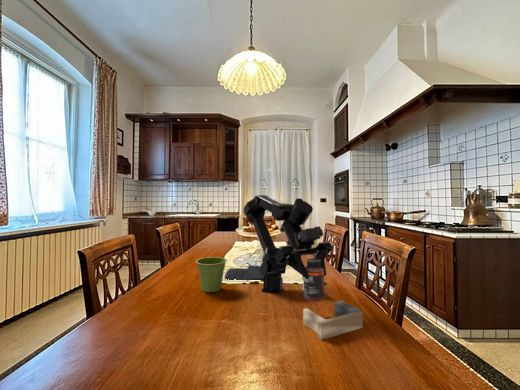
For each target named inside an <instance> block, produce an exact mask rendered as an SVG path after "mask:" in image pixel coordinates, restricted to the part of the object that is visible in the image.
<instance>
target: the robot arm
mask: <svg viewBox="0 0 520 390" xmlns="http://www.w3.org/2000/svg"><path fill="white" fill-rule="evenodd" d="M313 209H314V208H313V205H311V204H310V203H309V202H307V201H305V200H303V198H296V199H294V203H293V204H292V203H285V202H284V203H282V202H279V201H277V200H276V199H272V198H271V197H269V196H268V195H266V194H264V195H263V194H258V195H255V196H254V197H253V198H252V199H251V200H249V201H247V202H246V204H245V205H244V207H243V214H244V215H245V218H246V220H247V221H249V222H250V223H251V224H252V225H253V227H254V231H255V233H256V235H257V238H258V241H259V244H260V246H261V249H262V253H263V255H262V259H261V261H262V262H261V264H260V265H259V266H260V267H259V271H260V274H262V275H263V281H262V282H263V285H262V286H263V288H262V289H261V292H266V293H269V294H270V293H272V294H279V293H280V292H281V291H283V290H284V287H283V286H284V281H283V276H282V275H285V274H286V271H287V267H290V268H292V269H293V270H295V271H296V272H297V273H298V274H300V276H301V277H302V276H303V277H305V278H306V279H308V278H309V275H308V273H307V270H306V268H305V267H306V266H305V264H304V262H303V260H302V257H303V256H309V255H311V256H312V257H313V259H319V260H321V265H320V266H321V267H322V268H323V269H324V277H326V276H327V270H326V269H327V268H326V262H325V258H327V257H328V256H329V254H330V253H331V252H332V251H333V250H334V247H333V244H332V243H331V242H330V241H324V242H322V241H321V242H319V243H317V245H316V246H315V247H313V246H314V245H315V244H316V242H315V241H317V240H320V239H321V237H323V236H324V232H323V229H322V228H321V226H315V227H312V228H311V227H310V228H304V229H303V227H302V226H303V225H304V224H305V223H306V222H307V220H308V219H309V217H310V216H311V214H312V213H313ZM266 211H268V212H270V213H271V217H272V218H273V219H274V220H275V221H276V222H281V221H283V222H282V224H281V227H280V229H279V231H280V233H284V234H285V237H287V240H288V241H287V242H286V244H287V245H282V246H280V247H276V246H275V243H274V240H273V238H272V234H270V230H269V229H268V226H267V223H266V221H265V219H264V217H265V214H266Z"/></svg>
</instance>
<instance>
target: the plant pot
mask: <svg viewBox="0 0 520 390" xmlns="http://www.w3.org/2000/svg"><path fill="white" fill-rule="evenodd" d="M227 261H228V259H227V258H224V257H221V256H220V257H219V256H209V257H202V258H198V259H196V261H195V263H196V265H197V266H196V267H197V269H198V272H199V273H198V274H199V279H200V287H201V291H202V292H204V293H207V292H208V293H211V292H212V293H216V292H217V293H218V292H219V291H221V290H222V285H223V284H222V283H223V279H224V278H223V277H224V271H225V267H226V263H227Z"/></svg>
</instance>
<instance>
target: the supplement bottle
mask: <svg viewBox="0 0 520 390" xmlns="http://www.w3.org/2000/svg"><path fill="white" fill-rule="evenodd" d="M320 265H321V260H319V259H314V258H308V259H306V266H305V268H306V270H307V273H308V275H309V278H308V279H306V278H305V277H304V281H303V284H304V290H303V298H304V299H305V300H307V301H310V302H321V301H323V300H324V299H325V276H324V269H323V268H322V267H321V266H320Z"/></svg>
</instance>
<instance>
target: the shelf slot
mask: <svg viewBox="0 0 520 390" xmlns="http://www.w3.org/2000/svg"><path fill="white" fill-rule="evenodd" d="M333 303H334V304H333V305H334V307H333V308H334V309H333V310H334V311H333V312H334V313H333V315H334V317H331V318H330V317H329V318H326V319H325V318H324V317H322V316H321V315H319V314H317V313H315V312H314V311H312V310H310V309H309V308H303V309H302V310H303V311H302V320H303V321H302V324H303V325H304V326H306V327H308V328H309V329H310V330H312V332H315V333H316V334H317V338H318V339H319V341H323V340H327V339H330V338H333V337H336V336H339V335H343V334H346V333H350V332H352V331H353V332H354V331H356V330H359V329H362V328H364V318H363V317H364V316H363V314H364V313H363V311H361V309H360V308H358V307H356V306H353V305H351V304H349V303H347V302H345V301H343V300H338V301H335V302H333Z"/></svg>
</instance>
